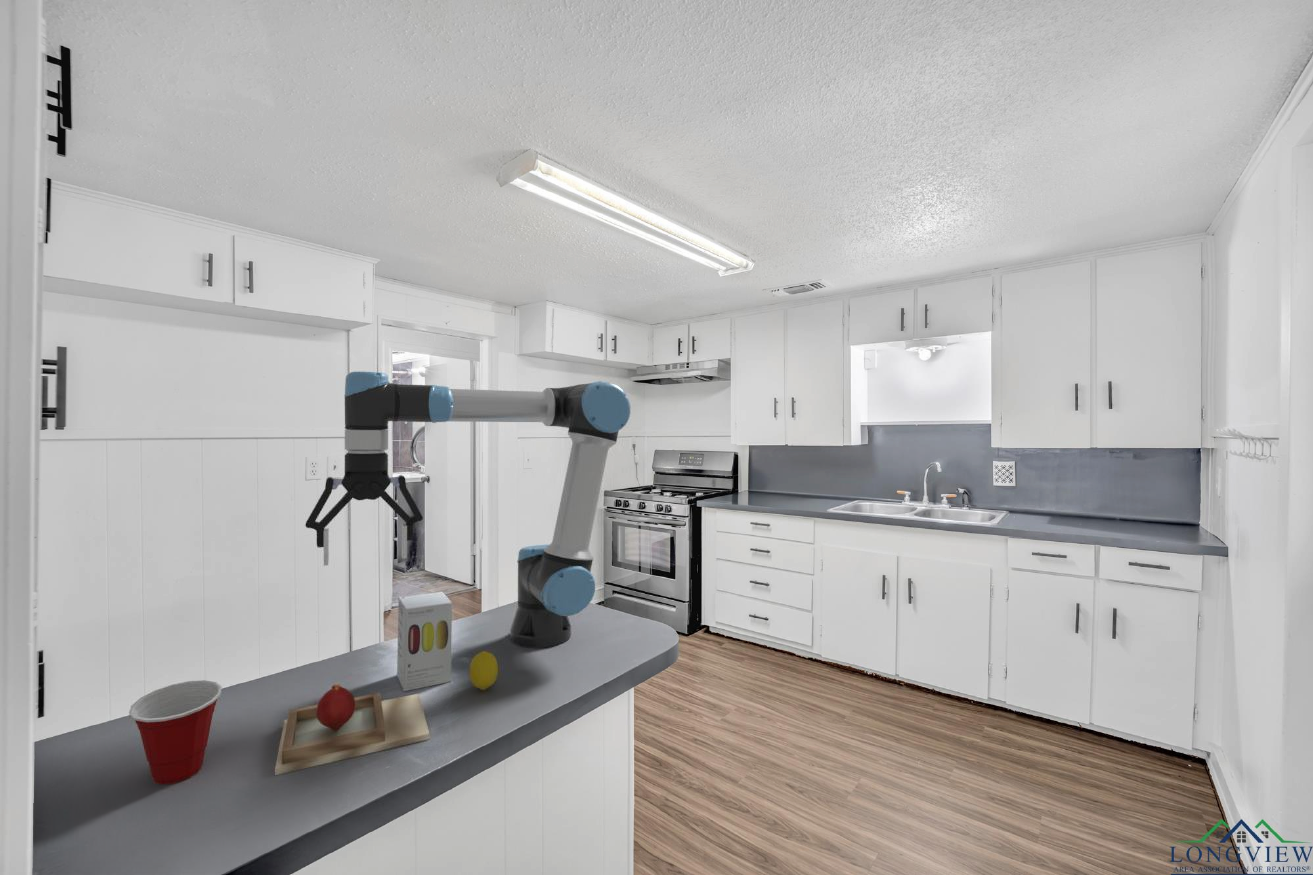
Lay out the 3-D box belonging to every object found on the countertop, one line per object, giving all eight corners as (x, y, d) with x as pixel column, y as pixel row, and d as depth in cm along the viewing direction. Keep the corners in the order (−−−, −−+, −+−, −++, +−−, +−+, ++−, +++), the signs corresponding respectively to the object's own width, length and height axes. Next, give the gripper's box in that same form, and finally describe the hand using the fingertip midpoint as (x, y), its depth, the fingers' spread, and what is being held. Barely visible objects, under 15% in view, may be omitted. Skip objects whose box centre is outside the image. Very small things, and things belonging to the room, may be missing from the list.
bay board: (418, 698, 112) (418, 683, 112) (429, 739, 98) (429, 721, 98) (284, 725, 101) (284, 708, 101) (275, 775, 87) (275, 755, 87)
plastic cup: (115, 804, 80) (114, 720, 80) (147, 762, 90) (146, 686, 90) (210, 786, 85) (210, 706, 84) (230, 747, 94) (230, 675, 94)
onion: (318, 724, 100) (318, 678, 100) (356, 717, 102) (356, 673, 102) (314, 741, 94) (314, 693, 94) (353, 734, 97) (354, 687, 97)
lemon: (464, 690, 116) (464, 650, 116) (488, 681, 120) (489, 643, 120) (478, 699, 112) (478, 658, 112) (503, 690, 116) (503, 651, 116)
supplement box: (402, 692, 114) (403, 608, 114) (395, 675, 122) (396, 596, 122) (452, 681, 120) (453, 601, 119) (442, 665, 127) (443, 590, 127)
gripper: (432, 450, 121) (431, 550, 121) (292, 451, 109) (292, 562, 110) (437, 452, 114) (436, 558, 115) (289, 453, 102) (289, 571, 103)
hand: (366, 560), depth 112 cm, fingers open, 13 cm apart
